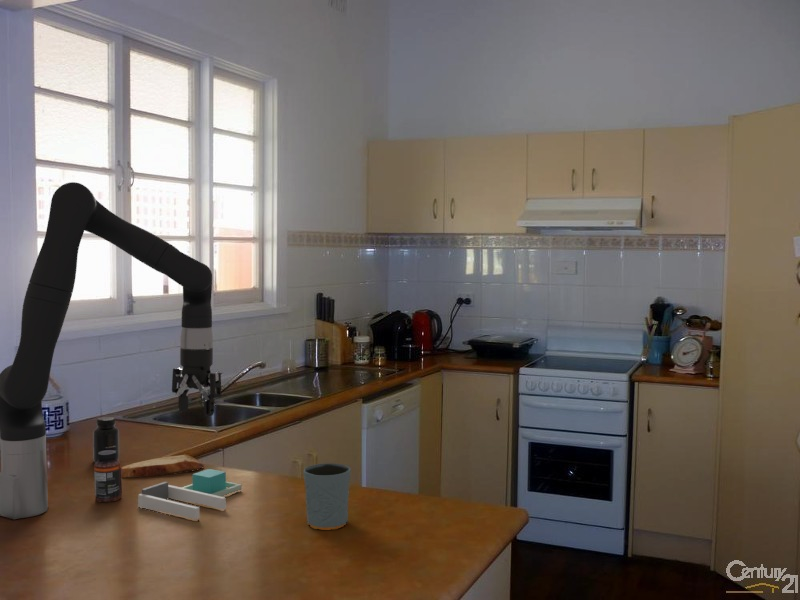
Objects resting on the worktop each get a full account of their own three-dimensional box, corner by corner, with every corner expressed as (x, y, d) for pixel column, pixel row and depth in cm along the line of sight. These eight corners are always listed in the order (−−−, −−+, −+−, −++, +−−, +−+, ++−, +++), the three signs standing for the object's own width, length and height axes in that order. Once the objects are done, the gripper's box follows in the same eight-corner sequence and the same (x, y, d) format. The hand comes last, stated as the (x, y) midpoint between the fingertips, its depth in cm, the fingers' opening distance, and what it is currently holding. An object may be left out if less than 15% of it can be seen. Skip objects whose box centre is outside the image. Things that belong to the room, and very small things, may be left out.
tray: (209, 503, 183) (209, 495, 183) (177, 496, 189) (177, 488, 189) (241, 491, 192) (241, 484, 192) (210, 484, 198) (210, 477, 198)
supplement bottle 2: (110, 493, 191) (109, 447, 190) (127, 497, 188) (126, 450, 187) (89, 500, 185) (88, 453, 185) (106, 504, 182) (105, 456, 182)
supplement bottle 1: (110, 464, 216) (109, 421, 216) (88, 463, 218) (87, 420, 217) (124, 458, 223) (123, 416, 222) (102, 456, 224) (101, 415, 224)
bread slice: (111, 477, 206) (110, 463, 205) (157, 460, 222) (156, 447, 222) (167, 485, 199) (167, 470, 198) (210, 467, 215) (209, 453, 215)
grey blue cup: (307, 533, 164) (307, 477, 163) (300, 517, 174) (300, 464, 173) (355, 529, 167) (355, 473, 166) (345, 513, 176) (345, 460, 175)
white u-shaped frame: (196, 522, 171) (195, 504, 170) (138, 507, 180) (138, 490, 180) (225, 510, 178) (225, 493, 178) (168, 497, 188) (168, 480, 188)
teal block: (209, 496, 187) (209, 477, 186) (192, 492, 189) (192, 474, 189) (225, 490, 191) (225, 472, 191) (209, 486, 194) (208, 468, 194)
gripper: (163, 345, 188) (163, 412, 189) (206, 349, 181) (205, 419, 182) (187, 342, 195) (187, 407, 196) (229, 347, 187) (229, 414, 188)
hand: (196, 413), depth 189 cm, fingers open, 8 cm apart
